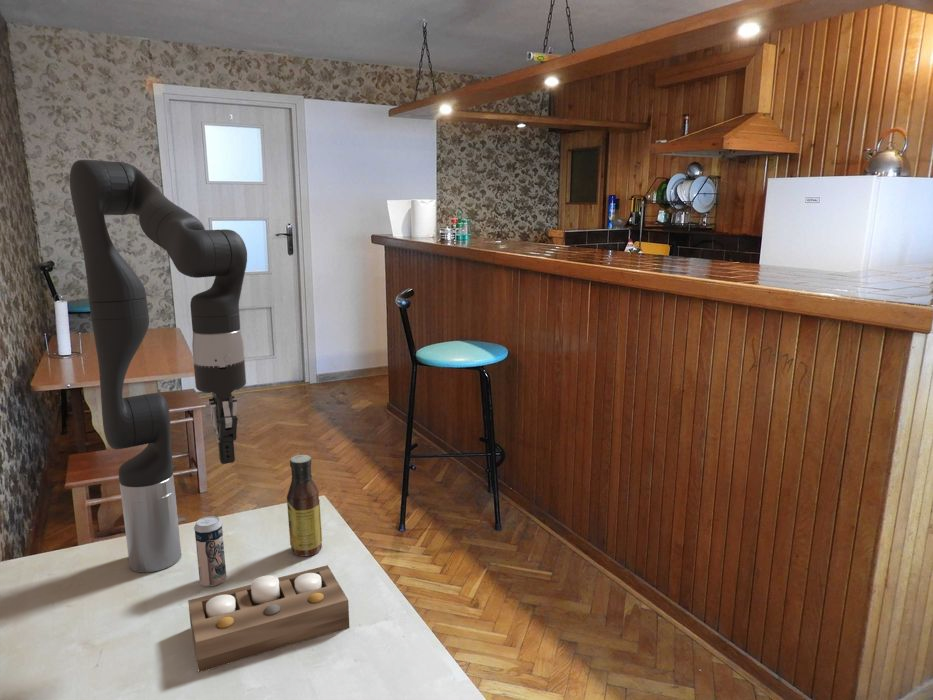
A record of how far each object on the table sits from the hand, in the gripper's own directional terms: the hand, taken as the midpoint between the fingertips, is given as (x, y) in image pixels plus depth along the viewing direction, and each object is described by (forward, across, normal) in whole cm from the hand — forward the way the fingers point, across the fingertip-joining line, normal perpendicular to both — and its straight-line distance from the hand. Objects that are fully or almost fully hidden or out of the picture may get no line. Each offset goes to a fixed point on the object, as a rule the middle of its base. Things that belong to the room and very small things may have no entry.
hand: (227, 461), depth 107 cm
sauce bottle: (+27, -14, +15) cm, 34 cm away
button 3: (+24, +6, +11) cm, 27 cm away
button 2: (+23, +6, +4) cm, 24 cm away
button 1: (+24, +6, -3) cm, 25 cm away
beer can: (+27, -11, -3) cm, 29 cm away
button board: (+26, +8, +4) cm, 28 cm away
